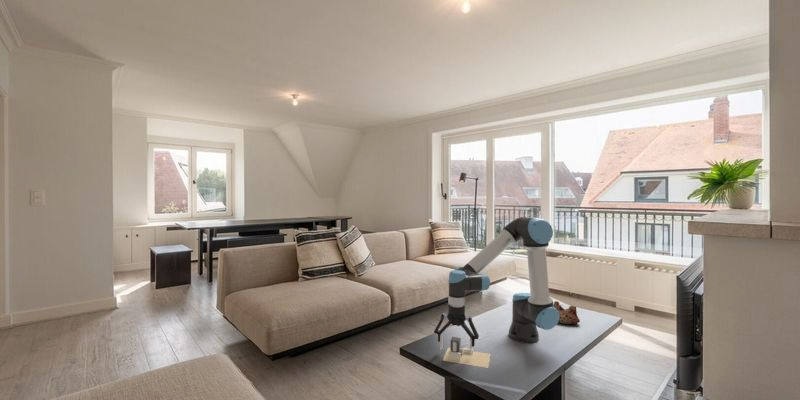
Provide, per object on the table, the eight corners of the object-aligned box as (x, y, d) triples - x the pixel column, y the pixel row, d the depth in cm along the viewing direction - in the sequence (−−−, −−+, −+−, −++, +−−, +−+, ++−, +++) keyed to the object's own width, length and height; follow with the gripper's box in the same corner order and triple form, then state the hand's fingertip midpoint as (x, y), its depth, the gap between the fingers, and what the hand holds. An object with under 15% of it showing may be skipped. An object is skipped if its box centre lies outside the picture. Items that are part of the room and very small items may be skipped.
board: (490, 356, 162) (490, 347, 162) (488, 370, 149) (488, 360, 149) (448, 349, 168) (448, 340, 168) (442, 362, 155) (442, 353, 155)
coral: (540, 303, 220) (562, 296, 221) (548, 324, 217) (570, 317, 219) (554, 307, 202) (577, 299, 203) (563, 329, 199) (586, 321, 201)
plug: (460, 355, 160) (460, 337, 160) (458, 359, 156) (459, 342, 156) (451, 353, 162) (452, 336, 161) (449, 358, 157) (450, 340, 157)
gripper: (485, 305, 158) (484, 351, 159) (432, 299, 166) (431, 343, 167) (483, 310, 151) (482, 358, 152) (428, 304, 159) (427, 350, 160)
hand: (455, 350), depth 159 cm, fingers open, 13 cm apart
